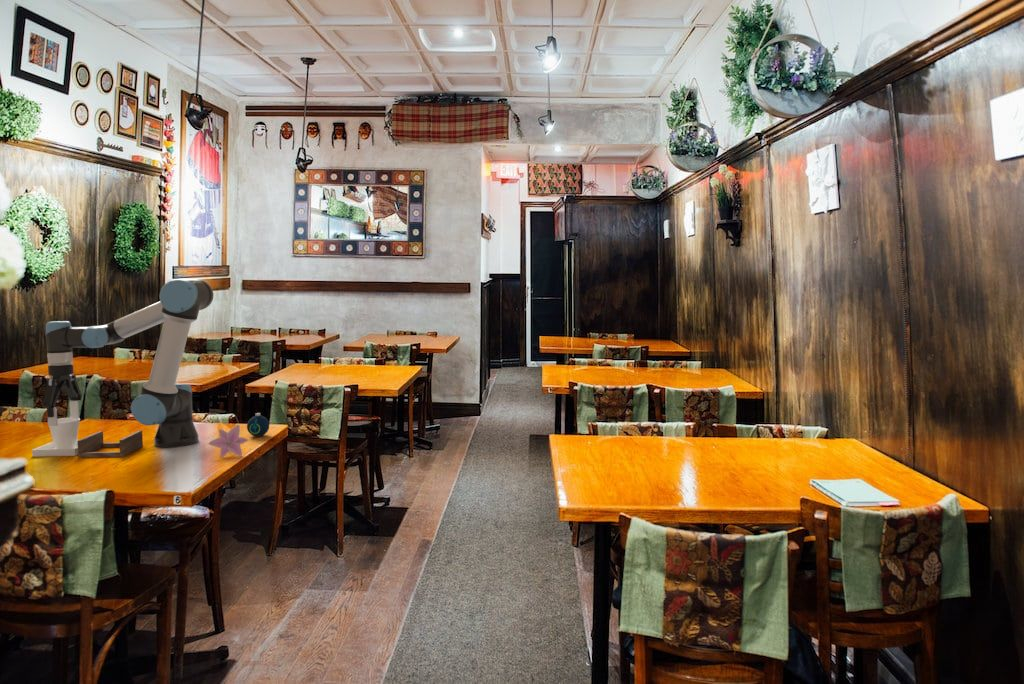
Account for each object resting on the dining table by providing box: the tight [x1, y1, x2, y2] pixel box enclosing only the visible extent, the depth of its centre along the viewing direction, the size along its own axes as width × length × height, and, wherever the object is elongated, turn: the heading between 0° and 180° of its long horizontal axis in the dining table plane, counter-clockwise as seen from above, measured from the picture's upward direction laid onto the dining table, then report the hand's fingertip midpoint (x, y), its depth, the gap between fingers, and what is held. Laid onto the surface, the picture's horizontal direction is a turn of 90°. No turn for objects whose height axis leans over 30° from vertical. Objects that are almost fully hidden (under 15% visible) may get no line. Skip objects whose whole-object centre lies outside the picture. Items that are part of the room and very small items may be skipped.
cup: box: [48, 417, 81, 449], centre depth 237 cm, size 10×10×11 cm
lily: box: [207, 424, 249, 458], centre depth 235 cm, size 12×12×10 cm
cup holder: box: [77, 430, 144, 458], centre depth 237 cm, size 15×15×6 cm
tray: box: [31, 439, 79, 457], centre depth 238 cm, size 14×14×2 cm
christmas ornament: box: [246, 412, 270, 437], centre depth 262 cm, size 8×8×10 cm
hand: (64, 421), depth 237 cm, fingers open, 13 cm apart
